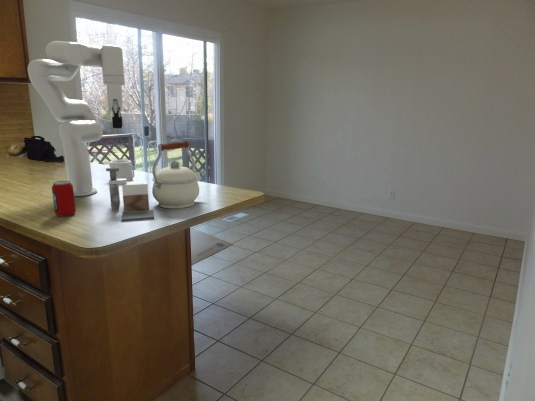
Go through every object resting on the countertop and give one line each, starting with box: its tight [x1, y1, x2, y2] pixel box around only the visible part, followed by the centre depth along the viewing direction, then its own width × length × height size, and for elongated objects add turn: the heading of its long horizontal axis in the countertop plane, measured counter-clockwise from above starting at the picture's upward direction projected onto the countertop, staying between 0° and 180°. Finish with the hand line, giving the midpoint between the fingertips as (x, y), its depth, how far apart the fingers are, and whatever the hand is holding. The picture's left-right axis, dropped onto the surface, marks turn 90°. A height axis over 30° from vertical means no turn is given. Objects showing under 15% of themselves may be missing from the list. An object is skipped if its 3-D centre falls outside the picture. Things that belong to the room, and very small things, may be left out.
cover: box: [121, 180, 149, 197], centre depth 147 cm, size 9×6×4 cm, turn 108°
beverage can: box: [51, 180, 77, 217], centre depth 138 cm, size 7×7×12 cm
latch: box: [105, 167, 127, 186], centre depth 144 cm, size 7×3×6 cm, turn 108°
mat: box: [120, 209, 155, 222], centre depth 138 cm, size 11×9×1 cm
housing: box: [108, 184, 150, 212], centre depth 149 cm, size 14×13×10 cm
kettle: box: [151, 140, 201, 210], centre depth 153 cm, size 25×18×25 cm
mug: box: [108, 159, 135, 182], centre depth 196 cm, size 14×11×10 cm
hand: (117, 127), depth 148 cm, fingers open, 9 cm apart
